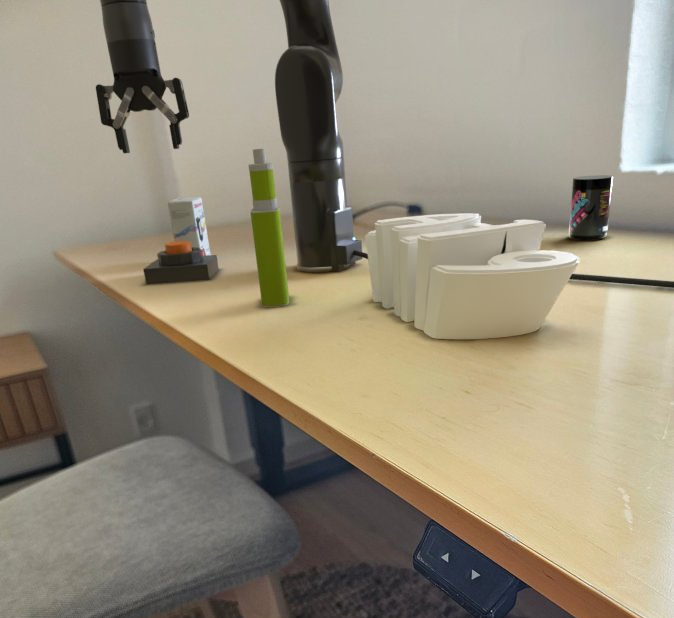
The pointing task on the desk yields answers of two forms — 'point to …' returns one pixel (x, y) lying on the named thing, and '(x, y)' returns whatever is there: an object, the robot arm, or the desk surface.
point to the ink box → (189, 222)
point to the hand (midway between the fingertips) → (151, 151)
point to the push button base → (181, 267)
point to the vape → (267, 233)
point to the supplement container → (590, 207)
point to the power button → (178, 247)
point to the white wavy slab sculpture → (466, 274)
